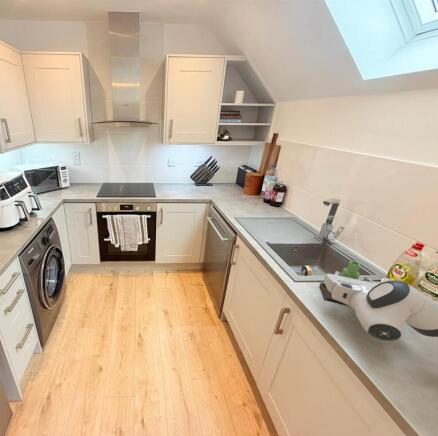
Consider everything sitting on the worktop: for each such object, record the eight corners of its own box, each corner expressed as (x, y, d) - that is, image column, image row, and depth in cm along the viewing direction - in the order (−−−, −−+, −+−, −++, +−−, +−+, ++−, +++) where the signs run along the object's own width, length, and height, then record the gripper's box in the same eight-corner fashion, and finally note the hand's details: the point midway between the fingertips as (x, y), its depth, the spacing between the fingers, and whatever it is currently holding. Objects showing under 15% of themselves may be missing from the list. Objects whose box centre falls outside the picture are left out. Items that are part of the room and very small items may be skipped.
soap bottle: (346, 294, 100) (360, 261, 94) (350, 302, 96) (365, 268, 89) (331, 291, 102) (344, 258, 96) (334, 299, 98) (349, 265, 91)
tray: (354, 294, 102) (356, 290, 101) (364, 312, 93) (366, 307, 92) (319, 286, 107) (320, 282, 106) (325, 302, 97) (326, 298, 96)
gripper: (407, 300, 77) (388, 275, 89) (332, 283, 84) (323, 263, 96) (399, 314, 80) (381, 289, 91) (327, 297, 87) (319, 275, 99)
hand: (351, 275), depth 94 cm, fingers open, 8 cm apart
